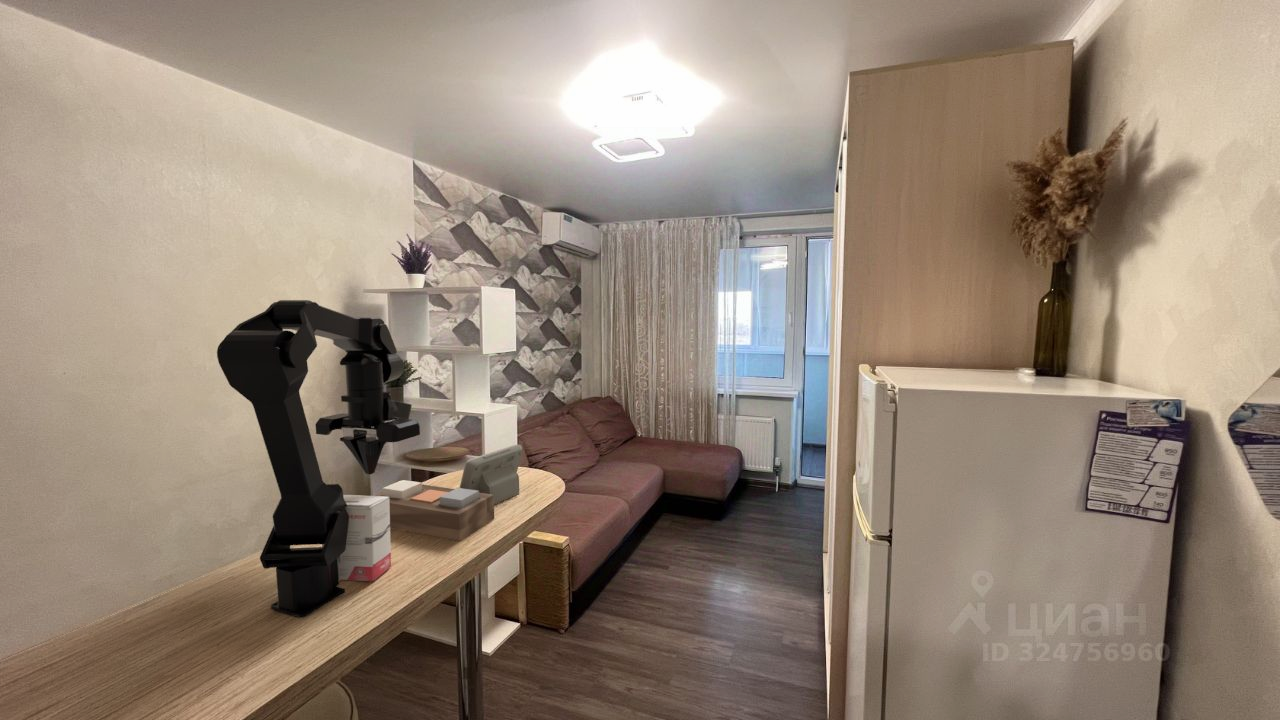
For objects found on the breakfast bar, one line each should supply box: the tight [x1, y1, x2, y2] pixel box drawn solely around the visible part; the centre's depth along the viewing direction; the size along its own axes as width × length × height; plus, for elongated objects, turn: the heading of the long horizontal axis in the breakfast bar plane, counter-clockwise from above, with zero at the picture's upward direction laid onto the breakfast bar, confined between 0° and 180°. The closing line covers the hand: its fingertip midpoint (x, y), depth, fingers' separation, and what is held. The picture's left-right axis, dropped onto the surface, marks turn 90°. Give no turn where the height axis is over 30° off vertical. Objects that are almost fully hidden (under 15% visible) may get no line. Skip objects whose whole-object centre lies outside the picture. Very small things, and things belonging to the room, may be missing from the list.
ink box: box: [321, 494, 392, 582], centre depth 76 cm, size 9×5×12 cm, turn 84°
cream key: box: [382, 479, 423, 499], centre depth 97 cm, size 5×5×3 cm
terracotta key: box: [411, 490, 448, 504], centre depth 95 cm, size 5×5×3 cm
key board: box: [374, 483, 495, 542], centre depth 95 cm, size 10×22×5 cm, turn 71°
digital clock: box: [459, 444, 523, 506], centre depth 107 cm, size 16×9×11 cm, turn 139°
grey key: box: [440, 487, 479, 509], centre depth 92 cm, size 5×5×3 cm
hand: (370, 473), depth 87 cm, fingers closed
